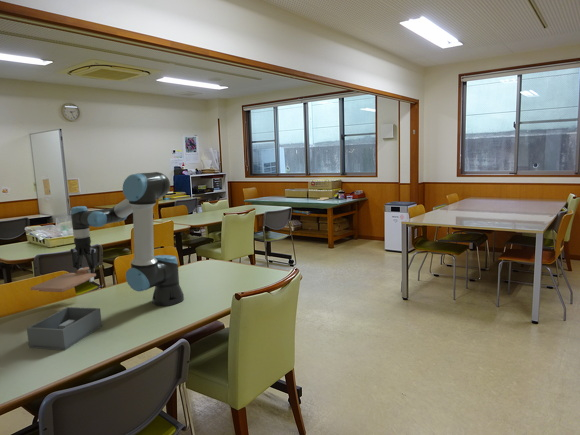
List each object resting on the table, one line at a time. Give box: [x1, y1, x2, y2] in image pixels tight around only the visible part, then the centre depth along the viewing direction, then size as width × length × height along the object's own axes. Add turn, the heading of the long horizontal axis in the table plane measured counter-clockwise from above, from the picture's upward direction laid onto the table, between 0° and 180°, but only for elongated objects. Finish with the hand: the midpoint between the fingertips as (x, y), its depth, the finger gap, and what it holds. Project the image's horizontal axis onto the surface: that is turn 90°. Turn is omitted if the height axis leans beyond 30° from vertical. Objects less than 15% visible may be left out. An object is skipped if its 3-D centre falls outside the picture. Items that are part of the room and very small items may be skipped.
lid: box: [30, 266, 97, 293], centre depth 201 cm, size 17×30×4 cm, turn 169°
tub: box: [26, 306, 103, 351], centre depth 169 cm, size 16×22×8 cm
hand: (86, 280), depth 213 cm, fingers closed on lid, 5 cm apart
